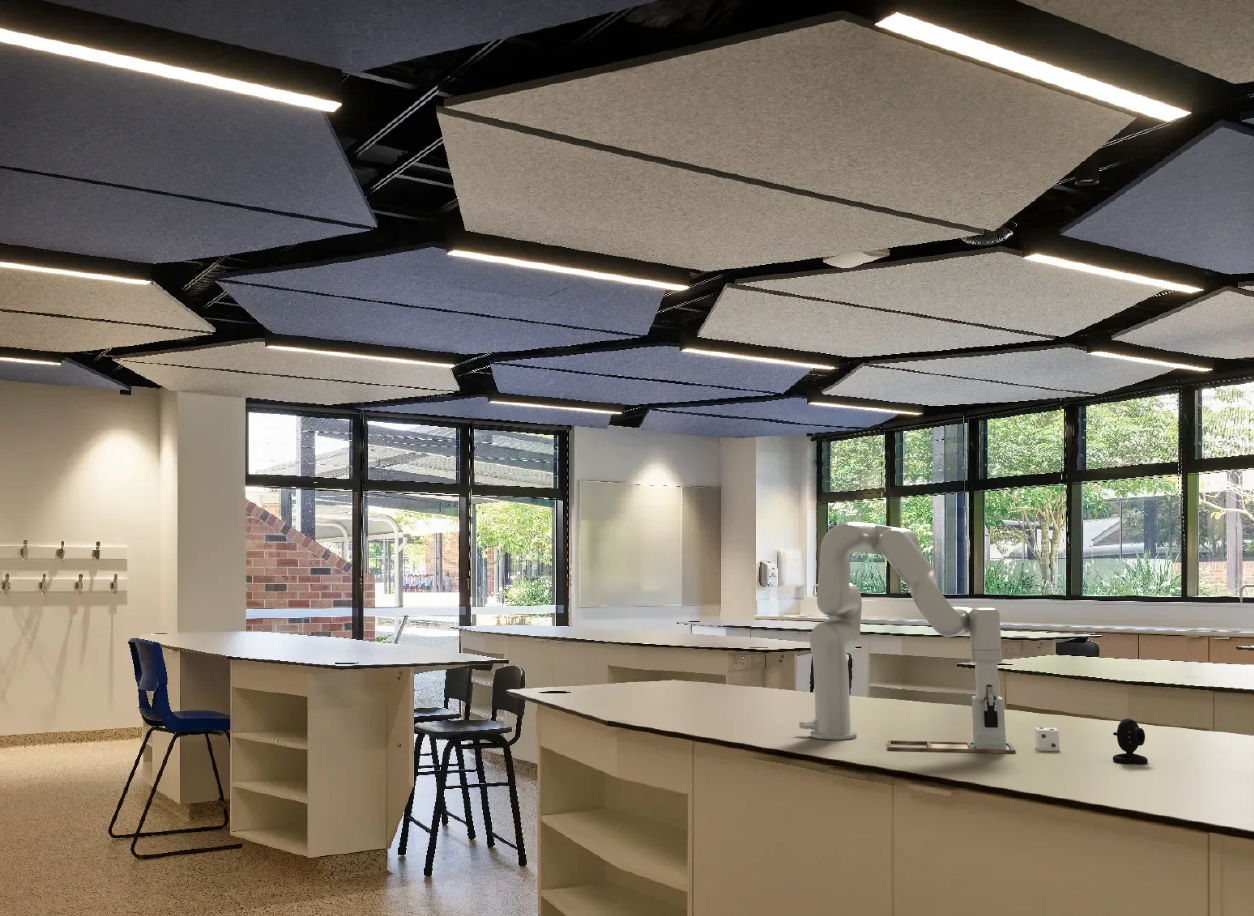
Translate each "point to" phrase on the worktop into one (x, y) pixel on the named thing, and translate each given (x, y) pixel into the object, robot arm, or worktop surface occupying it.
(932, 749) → the board
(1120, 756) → the webcam
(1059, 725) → the worktop surface
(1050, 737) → the die
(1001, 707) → the supplement box
